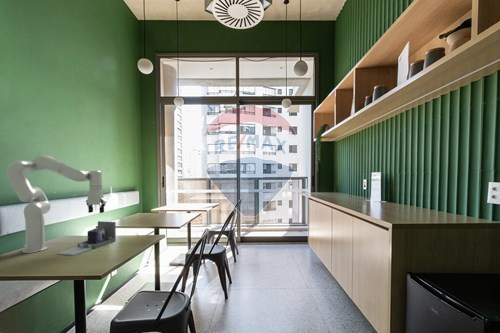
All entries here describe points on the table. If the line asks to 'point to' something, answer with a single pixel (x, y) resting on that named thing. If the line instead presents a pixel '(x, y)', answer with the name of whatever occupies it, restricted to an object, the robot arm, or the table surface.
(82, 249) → the rubber mat
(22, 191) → the robot arm
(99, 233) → the small box
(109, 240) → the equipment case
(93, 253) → the table surface
